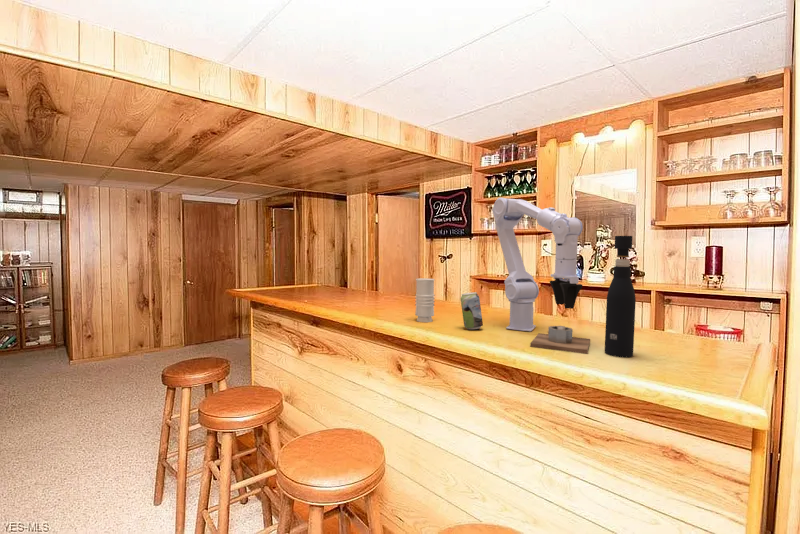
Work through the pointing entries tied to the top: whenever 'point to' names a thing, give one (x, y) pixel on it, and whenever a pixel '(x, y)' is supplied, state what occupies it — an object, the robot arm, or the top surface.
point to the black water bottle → (620, 304)
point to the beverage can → (471, 310)
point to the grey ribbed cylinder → (424, 299)
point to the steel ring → (560, 335)
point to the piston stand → (576, 346)
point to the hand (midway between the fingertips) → (564, 306)
